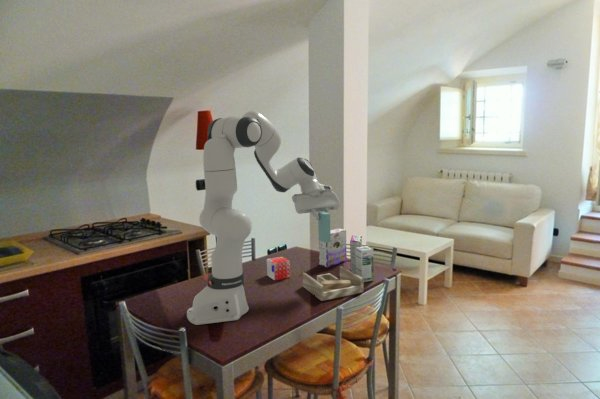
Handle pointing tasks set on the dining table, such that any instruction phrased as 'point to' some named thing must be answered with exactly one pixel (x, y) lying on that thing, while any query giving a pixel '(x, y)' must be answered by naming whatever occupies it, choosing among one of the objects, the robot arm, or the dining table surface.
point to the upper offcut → (336, 284)
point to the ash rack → (345, 274)
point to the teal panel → (324, 227)
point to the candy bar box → (354, 250)
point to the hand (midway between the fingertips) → (323, 218)
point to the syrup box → (364, 263)
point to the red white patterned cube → (278, 268)
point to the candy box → (333, 249)
